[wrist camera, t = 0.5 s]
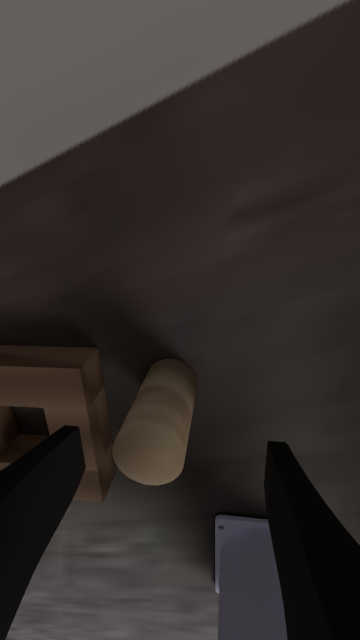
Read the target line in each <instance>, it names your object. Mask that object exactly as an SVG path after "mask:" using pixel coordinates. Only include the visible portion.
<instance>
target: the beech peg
mask: <svg viewBox="0 0 360 640" xmlns="http://www.w3.org/2000/svg"><path fill="white" fill-rule="evenodd" d="M196 390H197V377H196V375H195V373H194V371H193V370H192V368H191V367H190V366H189V365H187V364H186V363H184V362H182V361H180V360H177V359H163V360H160V361H157V362H156V363H154V364H153V365H152V366H151V367H150V369H149V371H148V373H147V375H146V377H145V379H144V381H143V383H142V385H141V387H140V389H139V391H138V394H137V396H136V398H135V400H134V402H133V404H132V406H131V408H130V410H129V412H128V414H127V416H126V419H125V421H124V423H123V425H122V427H121V429H120V431H119V433H118V435H117V437H116V439H115V441H114V444H113V448H112V455H113V459H114V461H115V463H116V465H117V467H118V468H119V469H120V471H121V472H122V473H123V474H125V475H126V476H127V477H129V478H130V479H132V480H134V481H136V482H139V483H141V484H146V485H163V484H167V483H169V482H171V481H173V480H175V479H176V478H177V477H178V476H179V475H180V473H181V472H182V470H183V467H184V461H185V456H186V450H187V444H188V438H189V432H190V426H191V420H192V414H193V408H194V402H195V396H196Z"/></svg>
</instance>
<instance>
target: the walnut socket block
mask: <svg viewBox="0 0 360 640" xmlns="http://www.w3.org/2000/svg"><path fill="white" fill-rule="evenodd" d="M12 406H17V407H35V408H44V412H45V417H46V421H47V425H48V430H49V434H50V435H51V434H53V433H54V432H56V431H57V430H58V429H60V428H61V427H63V426H64V425H68V426H79V429H80V435H81V441H82V447H83V453H84V459H85V465H86V468H85V471H84V474H83V476H82V479H81V482H80V484H79V486H78V489H77V491H76V494H75V495H74V497H73V499H72V500H79V501H89V502H99V503H103V501H104V499H105V497H106V494H107V492H108V490H109V487H110V485H111V482H112V480H113V478H114V475H115V473H116V470H117V469H116V463H115V461H114V459H113V455H112V448H113V441H112V434H111V427H110V421H109V414H108V407H107V400H106V393H105V386H104V379H103V372H102V365H101V358H100V351H99V348H92V347H51V346H11V345H0V471H1V470H2V469H4V468H5V467H7V466H8V465H10V464H11V463H13V462H14V461H16V460H17V459H18V458H20V457H21V456H23V455H24V454H25V453H27V452H28V451H29V450H31V449H32V448H34V447H35V446H36V445H38V444H39V443H40V442H42V441H43V440H45V439H46V438H47V437H49V436H43V435H29V434H19V431H18V427H17V423H16V420H15V416H14V412H13V409H12Z"/></svg>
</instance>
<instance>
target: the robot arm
mask: <svg viewBox="0 0 360 640" xmlns="http://www.w3.org/2000/svg"><path fill="white" fill-rule="evenodd" d="M85 468H86V465H85V459H84V453H83V447H82V441H81V435H80V429H79V426H68V425H64V426H63V427H61V428H60V429H58V430H57V431H56V432H54V433H53V434H51V435H50V436H49V437H47V438H46V439H45V440H43V441H42V442H40V443H39V444H38V445H36V446H35V447H34V448H32V449H31V450H29V451H28V452H27V453H25V454H24V455H23V456H21V457H20V458H18V459H17V460H16V461H14V462H13V463H11V464H10V465H8V466H7V467H5V468H4V469H2V470H1V471H0V640H5V638H6V636H7V634H8V631H9V629H10V626H11V624H12V622H13V619H14V617H15V614H16V612H17V610H18V607H19V605H20V602H21V600H22V598H23V596H24V593H25V591H26V589H27V587H28V584H29V582H30V580H31V577H32V575H33V573H34V571H35V569H36V567H37V565H38V563H39V561H40V559H41V557H42V555H43V553H44V551H45V549H46V547H47V545H48V544H49V542H50V540H51V538H52V536H53V534H54V533H55V531H56V529H57V527H58V525H59V523H60V522H61V520H62V518H63V516H64V514H65V512H66V511H67V509H68V507H69V505H70V503H71V501H72V499H73V497H74V495H75V494H76V491H77V489H78V486H79V484H80V482H81V479H82V476H83V474H84V471H85ZM264 488H265V500H266V511H267V518H268V519H258V518H249V517H239V516H229V515H217V516H216V518H215V590H216V592H217V593H218V594H219V620H218V640H360V545H359V544H358V543H357V542H356V541H355V540H354V538H353V537H352V536H351V535H350V534H349V532H348V531H347V530H346V529H345V528H344V526H343V525H342V524H341V523H340V521H339V520H338V519H337V517H336V516H335V515H334V514H333V512H332V511H331V510H330V508H329V507H328V506H327V504H326V503H325V502H324V500H323V499H322V497H321V496H320V495H319V493H318V492H317V490H316V489H315V487H314V486H313V485H312V483H311V482H310V480H309V479H308V477H307V476H306V474H305V472H304V471H303V469H302V468H301V466H300V465H299V463H298V461H297V460H296V458H295V456H294V455H293V453H292V451H291V449H290V447H289V446H288V444H287V443H286V442H275V441H268V445H267V457H266V469H265V481H264Z"/></svg>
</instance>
